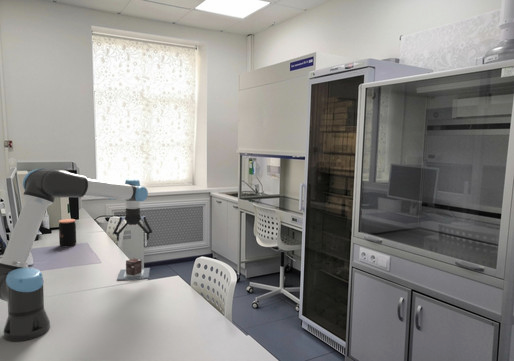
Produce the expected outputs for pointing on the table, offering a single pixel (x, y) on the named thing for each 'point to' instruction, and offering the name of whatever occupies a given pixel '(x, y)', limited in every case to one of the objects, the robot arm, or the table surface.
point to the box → (133, 266)
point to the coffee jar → (67, 232)
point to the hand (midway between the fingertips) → (133, 246)
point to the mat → (142, 275)
